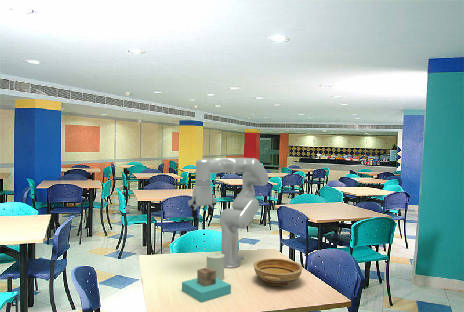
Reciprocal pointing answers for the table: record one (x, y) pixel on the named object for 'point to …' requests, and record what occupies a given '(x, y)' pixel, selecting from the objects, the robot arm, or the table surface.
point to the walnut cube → (206, 276)
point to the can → (216, 264)
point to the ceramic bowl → (277, 271)
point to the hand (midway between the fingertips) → (202, 216)
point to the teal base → (206, 289)
